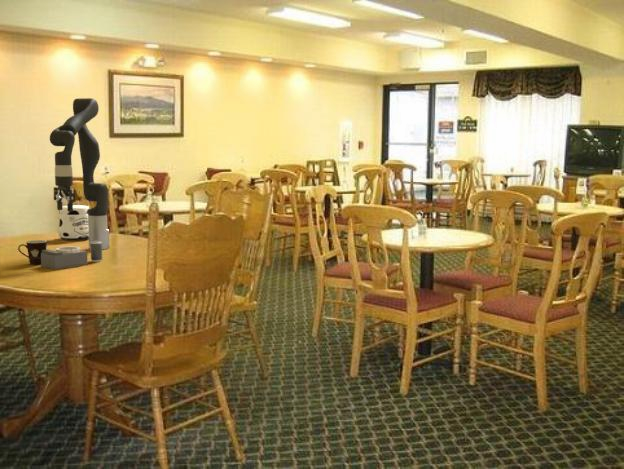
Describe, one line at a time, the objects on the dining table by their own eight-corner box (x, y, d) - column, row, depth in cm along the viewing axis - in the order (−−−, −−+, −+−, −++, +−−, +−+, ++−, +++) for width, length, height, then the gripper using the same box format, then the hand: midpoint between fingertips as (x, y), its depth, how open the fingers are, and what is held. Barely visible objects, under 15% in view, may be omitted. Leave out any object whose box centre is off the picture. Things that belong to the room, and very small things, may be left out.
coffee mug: (51, 262, 322) (51, 240, 320) (38, 266, 313) (37, 243, 312) (30, 260, 325) (30, 239, 324) (17, 264, 317) (16, 241, 316)
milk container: (85, 242, 381) (84, 208, 379) (53, 241, 381) (52, 208, 379) (95, 237, 398) (95, 205, 396) (65, 236, 399) (64, 204, 396)
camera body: (73, 261, 325) (72, 245, 324) (87, 264, 319) (87, 248, 317) (41, 266, 313) (40, 249, 312) (55, 269, 306) (54, 252, 305)
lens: (98, 259, 331) (97, 240, 330) (104, 261, 328) (104, 241, 327) (88, 261, 327) (87, 241, 326) (95, 262, 324) (94, 243, 323)
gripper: (79, 175, 320) (81, 211, 322) (62, 174, 329) (63, 208, 331) (64, 176, 314) (66, 212, 316) (47, 174, 323) (49, 210, 325)
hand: (65, 210), depth 324 cm, fingers open, 8 cm apart
